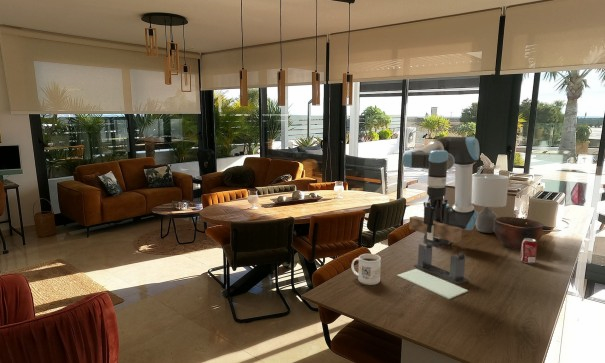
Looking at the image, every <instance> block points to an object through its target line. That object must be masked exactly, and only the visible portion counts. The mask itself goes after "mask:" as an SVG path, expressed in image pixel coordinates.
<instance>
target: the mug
mask: <svg viewBox="0 0 605 363" xmlns="http://www.w3.org/2000/svg"><path fill="white" fill-rule="evenodd" d="M356 261H358V272H357V271H356V270H355V267H354V266H355V265H354V264H355V262H356ZM381 262H382V258H381V256H379V255H378V254H374V253H363V254H360V255H359V256H358V257H356V258H354V259H353V260H352V262H351V265H350V266H351V271H352V273H353V274H354V275H356V277H358V278H357V279H358V282H360V283H361V284H363V285H370V286H371V285H373V286H374V285H377V284H379V283H380V282H381V267H382V266H381V264H382V263H381Z"/></svg>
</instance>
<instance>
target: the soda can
mask: <svg viewBox="0 0 605 363" xmlns="http://www.w3.org/2000/svg"><path fill="white" fill-rule="evenodd" d="M537 250H538V242H536V240H535V239H532V238H524V240H523V241H522V248H521V250H520V258H519V259H520V261H521V262H522V263H525V264H528V265H531V264H535V263H536V260H537V259H536V258H537Z"/></svg>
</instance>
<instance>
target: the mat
mask: <svg viewBox="0 0 605 363" xmlns="http://www.w3.org/2000/svg"><path fill="white" fill-rule="evenodd" d="M396 276H397V277H399V278H401V279H403V280H405V281H407V282H410V283H412V284H414V285H416V286H419V287H421V288H423V289H425V290H427V291H429V292H432V293H433V294H436V295H438V296H441V297H442V298H444V299H447V300H451V299H453V298H456V297H458V296H460V295H463V294H465V293H467V292H469V290H468V289H466V288H463V287H461V286H460V285H459V286H458V285H456V284H455V283H453V282H452V283H451V282H450V281H448V280H444V279H443V278H442V279H441V278H440V277H438V276H436V275H433V274H432V275H431V273H430V274H429V273H428V272H426V271H425V272H424V271H423V270H421V269H419V268H414V269H411V270H408V271H405V272H402V273H399V274H397V275H396Z"/></svg>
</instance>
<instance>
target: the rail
mask: <svg viewBox="0 0 605 363" xmlns="http://www.w3.org/2000/svg"><path fill="white" fill-rule="evenodd" d="M433 226H434V233H433V236H435V237H438V238H441V239H444V240H448V241H450V243H451V242H452V243H455V244H456V243H460V242H462V231H463V229H462V228H459V227H455V226H451V225H448V224H444V223H440V222H436V221H433ZM408 229H409V230H412V231H416V232H419V233H422V234H424V235H425V234H427V225H426V224H424V217H421V216H417V215H414V216H410V217H409V224H408Z"/></svg>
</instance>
